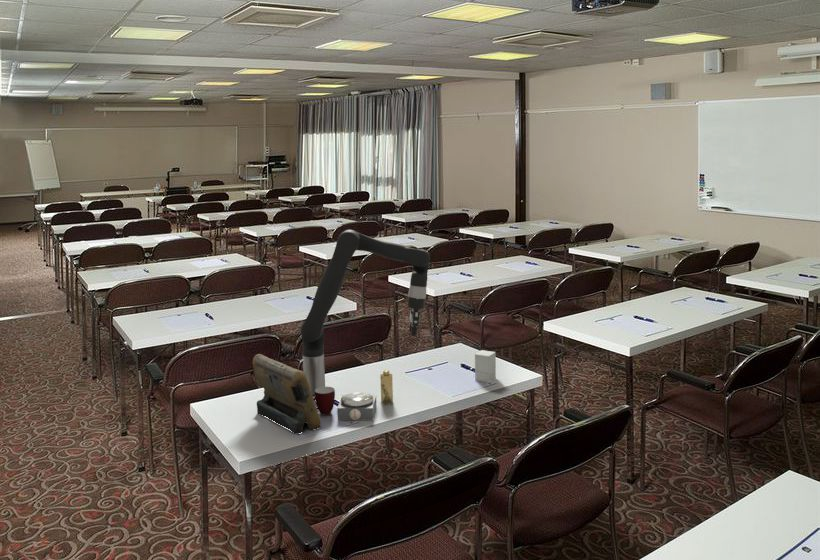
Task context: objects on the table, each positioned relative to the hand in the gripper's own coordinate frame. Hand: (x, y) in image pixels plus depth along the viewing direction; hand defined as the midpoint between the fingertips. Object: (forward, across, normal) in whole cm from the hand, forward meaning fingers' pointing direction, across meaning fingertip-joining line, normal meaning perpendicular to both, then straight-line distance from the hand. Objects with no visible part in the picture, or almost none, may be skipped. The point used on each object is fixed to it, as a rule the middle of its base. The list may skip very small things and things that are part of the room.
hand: (412, 333), depth 289 cm
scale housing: (+32, +16, -20) cm, 41 cm away
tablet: (+36, +20, -48) cm, 63 cm away
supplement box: (+21, -16, +38) cm, 46 cm away
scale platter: (+26, +17, -21) cm, 38 cm away
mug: (+34, +15, -34) cm, 51 cm away
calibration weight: (+29, +6, -8) cm, 31 cm away
